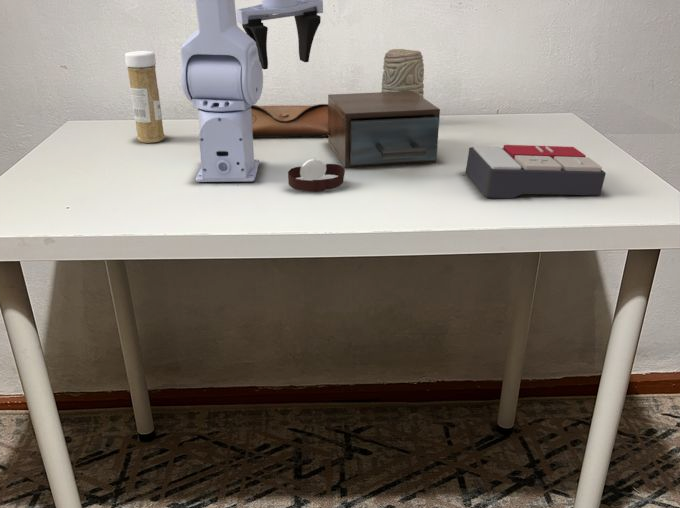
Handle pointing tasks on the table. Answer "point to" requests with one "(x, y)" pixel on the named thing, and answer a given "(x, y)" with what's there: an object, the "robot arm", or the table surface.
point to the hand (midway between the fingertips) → (284, 64)
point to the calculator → (533, 171)
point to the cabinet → (371, 107)
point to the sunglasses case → (290, 121)
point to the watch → (315, 176)
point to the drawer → (393, 139)
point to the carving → (403, 71)
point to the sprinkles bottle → (145, 96)
